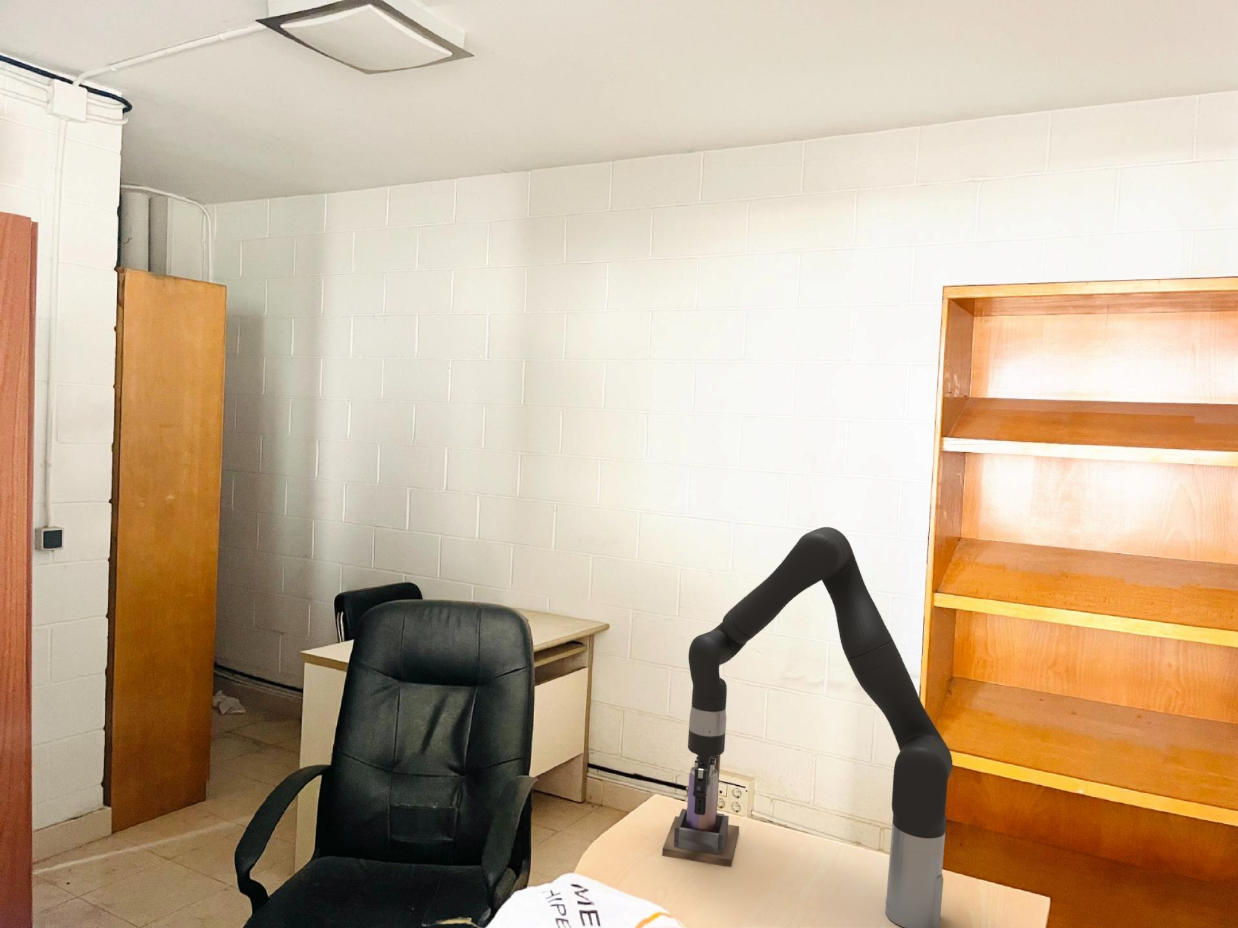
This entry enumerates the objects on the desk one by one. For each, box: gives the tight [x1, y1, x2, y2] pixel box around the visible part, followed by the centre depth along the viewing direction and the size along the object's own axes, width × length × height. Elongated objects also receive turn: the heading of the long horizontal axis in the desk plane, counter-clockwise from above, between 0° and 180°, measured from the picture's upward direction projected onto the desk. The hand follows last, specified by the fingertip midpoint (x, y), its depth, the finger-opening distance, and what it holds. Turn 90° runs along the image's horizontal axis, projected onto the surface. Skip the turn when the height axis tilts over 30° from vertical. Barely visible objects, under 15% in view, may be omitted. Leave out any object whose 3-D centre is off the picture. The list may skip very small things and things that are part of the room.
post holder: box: [661, 755, 740, 868], centre depth 191 cm, size 14×15×18 cm
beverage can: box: [686, 766, 719, 833], centre depth 189 cm, size 6×6×15 cm
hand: (702, 805), depth 189 cm, fingers open, 7 cm apart
